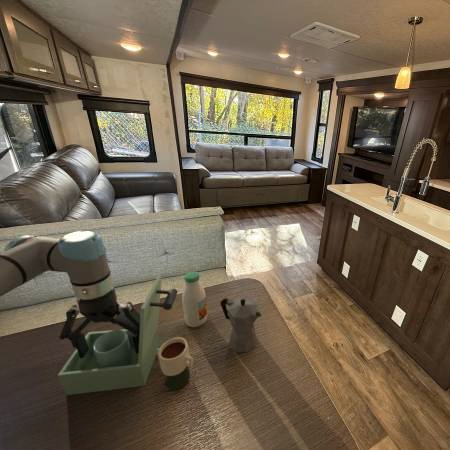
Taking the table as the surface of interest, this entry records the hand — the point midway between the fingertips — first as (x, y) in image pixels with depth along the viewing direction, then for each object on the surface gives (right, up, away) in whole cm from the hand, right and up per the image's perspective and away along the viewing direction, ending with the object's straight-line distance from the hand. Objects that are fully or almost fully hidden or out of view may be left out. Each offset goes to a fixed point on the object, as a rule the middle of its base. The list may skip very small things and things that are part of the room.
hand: (112, 351), depth 70 cm
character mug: (+18, -9, +1) cm, 20 cm away
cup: (0, -5, +2) cm, 6 cm away
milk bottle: (+15, +1, +21) cm, 26 cm away
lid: (+12, +10, -2) cm, 16 cm away
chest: (0, -6, +3) cm, 7 cm away
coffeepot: (+33, -4, +15) cm, 36 cm away
